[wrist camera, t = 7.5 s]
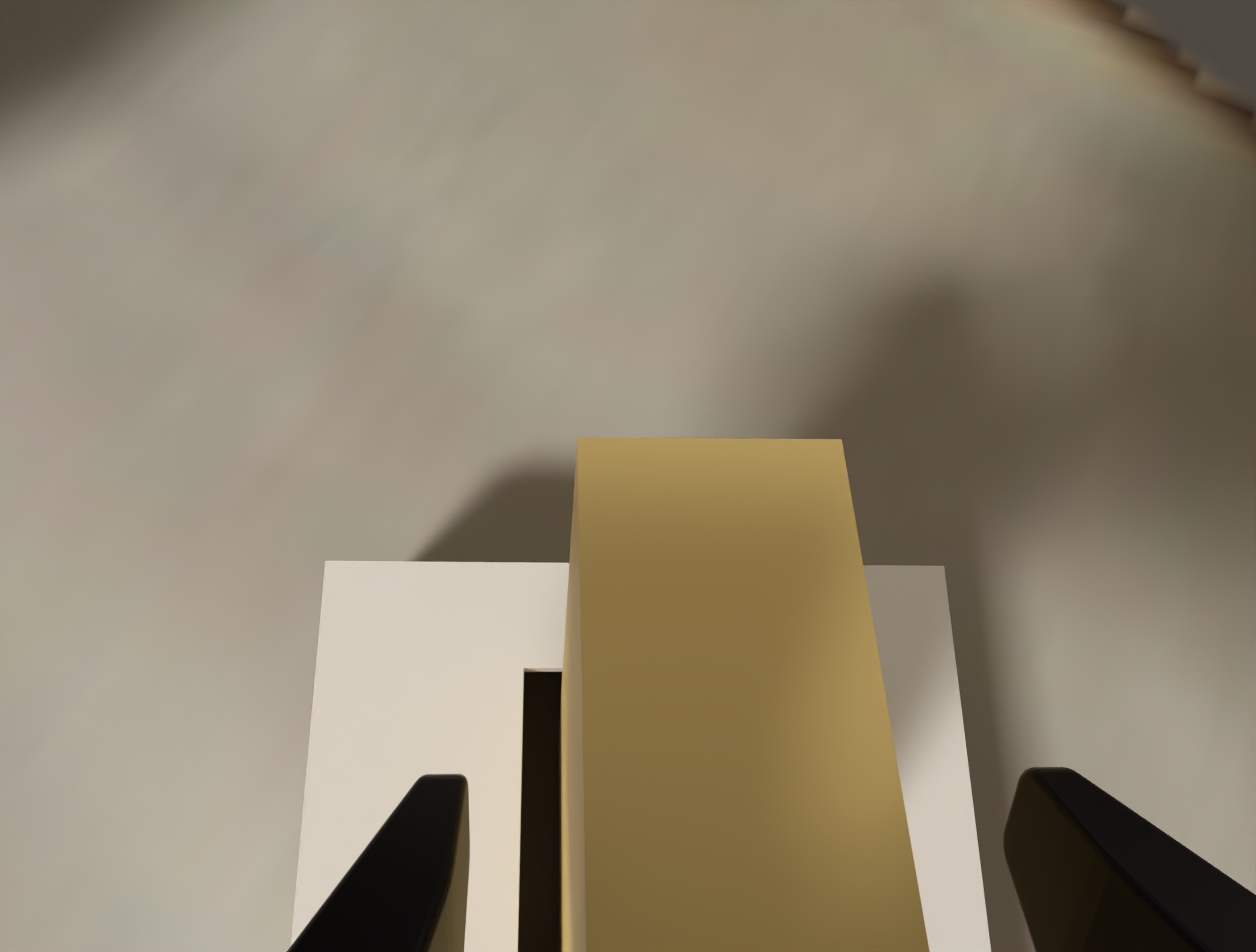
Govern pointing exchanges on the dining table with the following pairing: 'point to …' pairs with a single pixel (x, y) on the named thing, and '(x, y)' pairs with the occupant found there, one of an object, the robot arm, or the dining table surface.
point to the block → (725, 709)
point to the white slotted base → (529, 725)
